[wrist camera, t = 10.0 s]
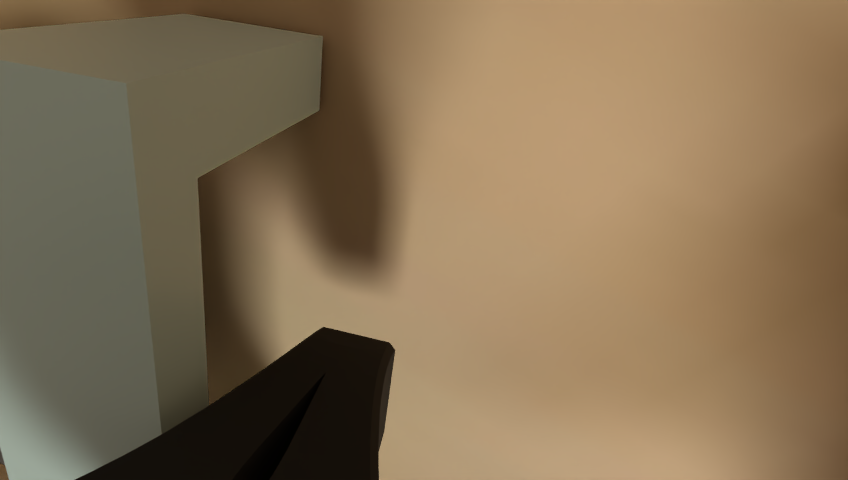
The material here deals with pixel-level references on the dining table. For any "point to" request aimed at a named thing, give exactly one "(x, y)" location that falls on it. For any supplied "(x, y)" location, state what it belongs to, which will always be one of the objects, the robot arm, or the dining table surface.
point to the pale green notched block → (120, 219)
